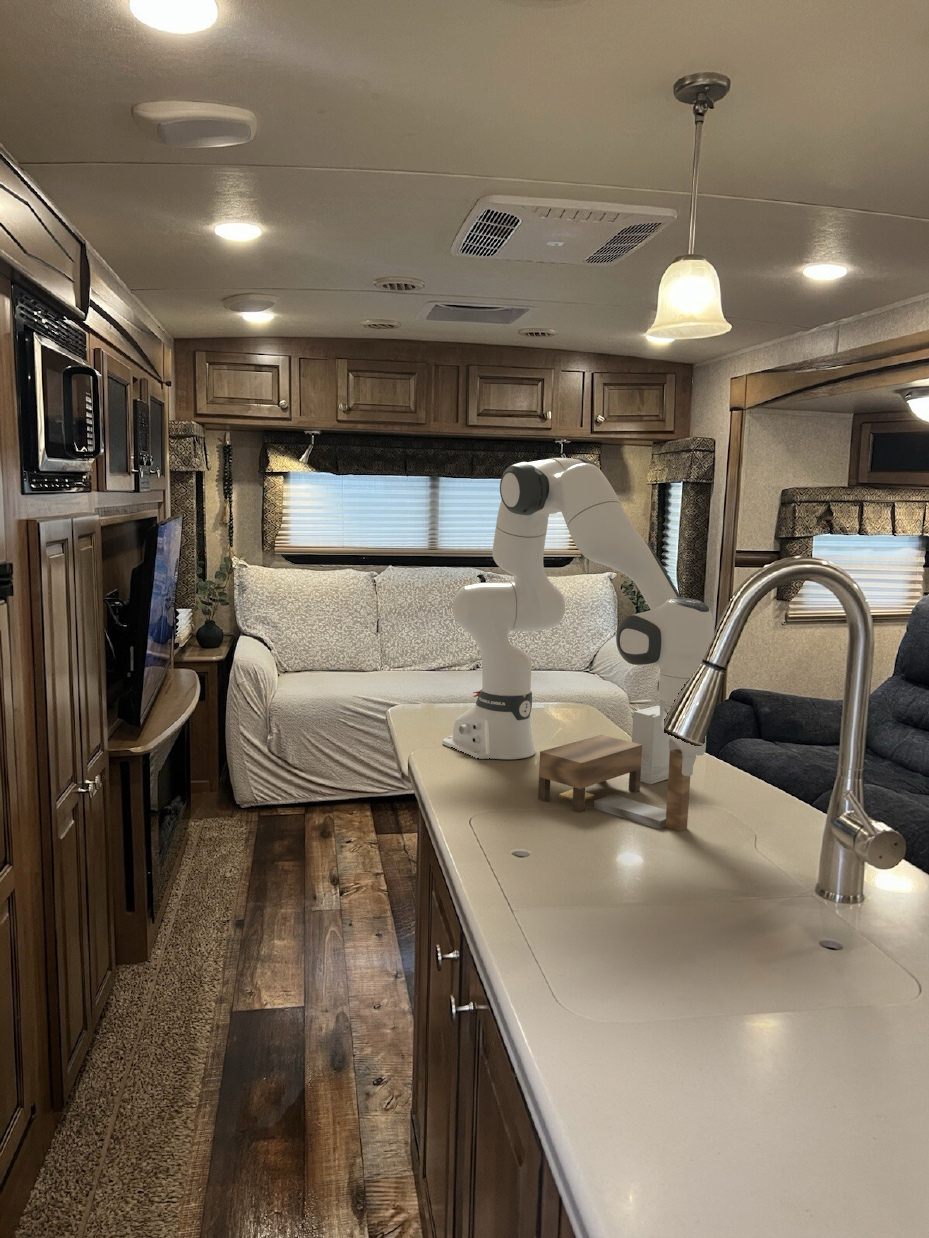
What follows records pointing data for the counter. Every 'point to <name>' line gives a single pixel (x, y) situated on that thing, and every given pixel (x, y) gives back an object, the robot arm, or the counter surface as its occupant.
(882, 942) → the counter surface
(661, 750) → the skincare box
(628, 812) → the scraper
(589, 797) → the tan square tile
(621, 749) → the small wooden table
